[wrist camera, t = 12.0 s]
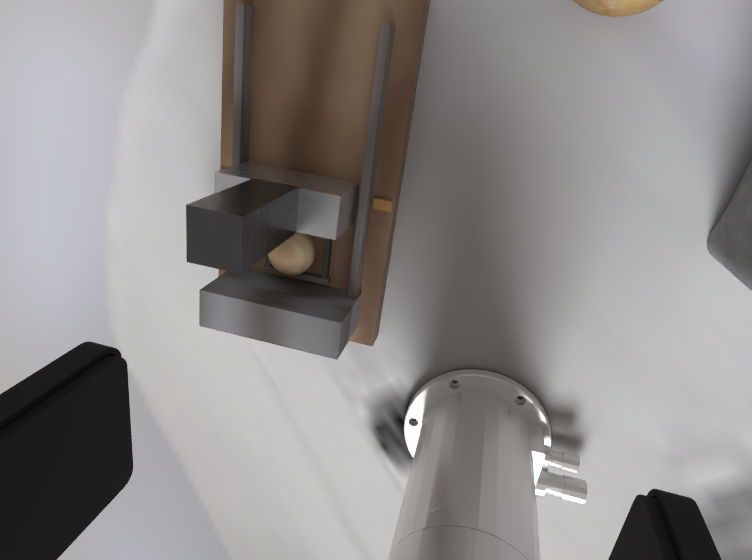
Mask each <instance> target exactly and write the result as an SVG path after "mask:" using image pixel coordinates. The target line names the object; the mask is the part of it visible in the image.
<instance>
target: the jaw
mask: <svg viewBox="0 0 752 560" xmlns="http://www.w3.org/2000/svg"><path fill="white" fill-rule="evenodd" d="M358 186H359V183H357V182H351V181H346V180H341V179H335V178H330V177H325V176H319V175H314V174H309V173H303V172H298V171H292V170H287V169H282V168H276V167H271V166H266V165H260V164H255V163H250V162H244V163H241V164H238V165H235V166H232V167H229V168H226V169H223V170H220V171H217V172H215V194H212V195H210V196H207V197H205V198H202V199H200V200H197V201H195V202H192V203H190V204H187V205H186V220H187V262H190V263H195V264H199V265H204V266H208V267H212V268H217V269H221V270H226V271H230V272H235V273H239V274H242V273H243V272H244V271H246V270H247V269H248V268H250V267H251V266H252V265H254V264H255V263H256V262H258V261H259V260H260V259H262V258H263V257H265V256H266V255H267V254H269V253H270V252H271V251H273V250H274V249H275V248H277V247H278V246H279V245H281V244H282V243H283V242H285V241H286V240H288V239H289V238H290V237H292V236H293V235H294V234H296V232H299V233H304V234H308V235H313V236H318V237H323V238H328V239H333V240H336V239H337V238H338V237H339V236H340V235H342V234H343V233H344V232H345V231H346V230H347V229H348V228H349V227H350V226H351V225H352V224H353V223H354V219H355V211H356V202H357V194H358Z"/></svg>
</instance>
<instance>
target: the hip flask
mask: <svg viewBox="0 0 752 560" xmlns="http://www.w3.org/2000/svg"><path fill="white" fill-rule="evenodd" d="M707 247H708V250H709V253H710V254H711V255H712V256H713V257H714V258H715V259H716V260H717V261H718V262H720V263H721V264H722V265H723V266H724V267H725V268H726V269H727V270H729V271H730V272H731V273H732V274H733V275H734V276H735V277H737V278H738V279H739V280H740V281H741V282H742V283H743V284H745V285H746V286H747V287H748V288H749V289H750V290H751V291H752V158H751V160H750V162H749V165H748V167H747V169H746V171H745V173H744V176H743V178H742V180H741V182H740V184H739V185H738V187H737V189H736V191H735V193H734V195H733V197H732V199H731V201H730V202H729V204H728V206H727V208H726V209H725V211H724V213H723V214H722V216H721V217H720V219H719V221H718V222H717V224H716V225H715V227H714V228H713V230H712V231H711V233H710V235H709V237H708V240H707Z"/></svg>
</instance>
